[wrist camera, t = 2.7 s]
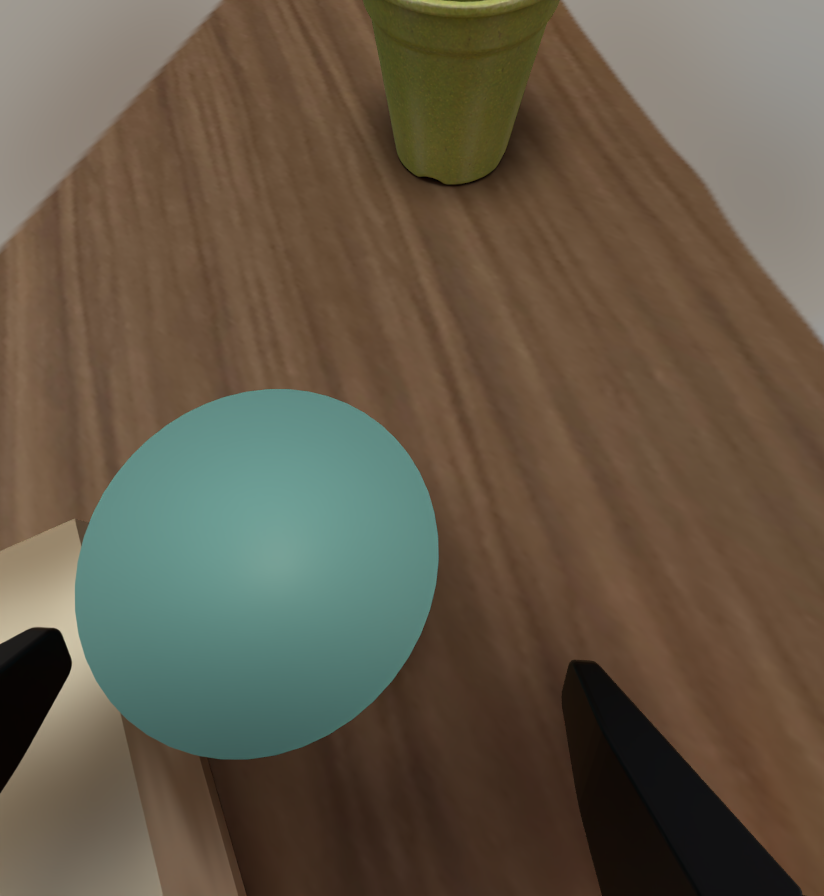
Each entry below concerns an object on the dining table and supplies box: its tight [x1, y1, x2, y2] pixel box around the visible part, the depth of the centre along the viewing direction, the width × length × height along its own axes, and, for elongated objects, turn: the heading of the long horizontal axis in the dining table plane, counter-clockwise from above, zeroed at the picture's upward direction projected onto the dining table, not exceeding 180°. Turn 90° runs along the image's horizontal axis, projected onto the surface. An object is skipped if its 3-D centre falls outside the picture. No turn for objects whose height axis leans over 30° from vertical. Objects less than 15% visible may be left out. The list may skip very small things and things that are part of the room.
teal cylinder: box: [75, 389, 439, 759], centre depth 11 cm, size 4×4×13 cm
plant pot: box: [363, 0, 559, 184], centre depth 22 cm, size 9×9×9 cm
